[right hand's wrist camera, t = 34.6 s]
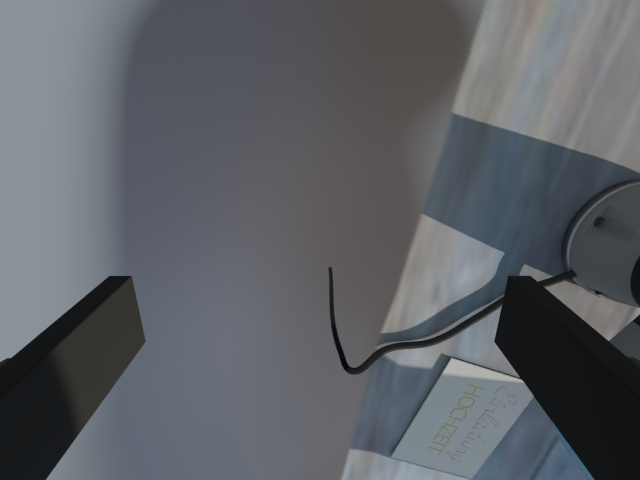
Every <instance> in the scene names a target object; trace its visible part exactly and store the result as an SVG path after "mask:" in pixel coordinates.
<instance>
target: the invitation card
mask: <svg viewBox="0 0 640 480" xmlns="http://www.w3.org/2000/svg"><path fill="white" fill-rule="evenodd" d="M533 397H534V396H533V394H532V393H531V391H530V390H529V389H528V387H527V386H526V385H525V383H524V382H523V380H522V379H519V378H516V377H513V376H509V375H506V374H503V373H500V372H497V371H493V370H490V369H487V368H484V367H480V366H477V365H474V364H471V363H468V362H464V361H461V360H458V359H455V358H452V357H451V359H450V360H449V362H448V363H447V365H446V367H445V368H444V370H443V372H442V373H441V375H440V377H439V378H438V380H437V381H436V383H435V385H434V386H433V388H432V390H431V391H430V393H429V395H428V396H427V398H426V399H425V401H424V403H423V404H422V406H421V408H420V409H419V411H418V413H417V414H416V416H415V417H414V419H413V421H412V422H411V424H410V426H409V427H408V429H407V431H406V432H405V434H404V435H403V437H402V439H401V440H400V442H399V444H398V445H397V447H396V449H395V450H394V452H393V453H392V455H391V457H392V458H396V459H400V460H403V461H407V462H411V463H415V464H418V465H422V466H426V467H430V468H433V469H437V470H441V471H445V472H448V473H452V474H456V475H460V476H463V477H467V478H471V479H472V478H473V477H474V476H475V474H476V473H477V472H478V470H479V469H480V468H481V466H482V465H483V464H484V462H485V461H486V460H487V458H488V457H489V456H490V454H491V453H492V452H493V450H494V449H495V448H496V446H497V445H498V444H499V442H500V441H501V440H502V438H503V437H504V436H505V434H506V433H507V432H508V430H509V429H510V428H511V426H512V425H513V424H514V422H515V421H516V420H517V418H518V417H519V416H520V414H521V413H522V412H523V410H524V409H525V408H526V406H527V405H528V404H529V402H530V401H531V400H532V398H533Z"/></svg>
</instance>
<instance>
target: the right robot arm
mask: <svg viewBox="0 0 640 480" xmlns="http://www.w3.org/2000/svg"><path fill="white" fill-rule="evenodd" d="M562 259H563V264H564V267H565V270H566V271H567V272H565V273H563V274H560V275H557V276H554V277H551V278H548V279H546V280H542V281H539V282H537V281H536V280H535V279H533V278H532V277H531V276H508V280H507V285H506V290H505V294H504V297H502V298H500V299H499V300H497V301H496V302H494V303H493V304H491V305H490V306H488V307H487V308H485V309H484V310H482V311H480V312H479V313H477V314H476V315H474V316H472V317H470V318H469V319H467V320H466V321H464V322H462V323H461V324H459V325H458V326H456V327H455V328H453V329H451V330H449V331H448V332H446V333H444V334H442V335H439V336H437V337H434V338H431V339H428V340H424V341H416V342H402V343H395V344H391V345H387V346H385V347H382V348H380V349H379V350H377V351H376V352H375V353H373V354H372V355H371V356H370V357H369V358H368V359H367V360H366V361H365V362H364V363H363V364H362V365H361V366H359V367H357V368H352V367H350V366H349V365H348V363H347V361H346V358H345V354H344V352H343V349H342V346H341V343H340V340H339V337H338V333H337V328H336V322H335V314H334V295H333V273H332V267H329V268H328V270H329V306H330V321H331V328H332V334H333V338H334V342H335V346H336V348H337V351H338V354H339V358H340V361H341V365H342V367H343V368H344V370H345V371H346V372H347V373H349V374H360V373H362V372H364V371H365V370H366V369H368V368H369V367H370V366H371V365H372V364H373V363H374V362H375V361H376V360H377V359H378V358H379V357H381V356H382V355H384V354H386V353H388V352H391V351H395V350H401V349H414V348H423V347H429V346H432V345H436V344H438V343H441V342H443V341H446V340H448V339H450V338H452V337H453V336H455V335H457V334H458V333H460V332H462V331H463V330H465V329H466V328H468V327H470V326H471V325H473V324H475V323H476V322H478V321H480V320H481V319H483V318H485V317H486V316H488V315H489V314H491V313H493V312H494V311H496V310H497V309H499V308H500V307H502V308H501V313H500V318H499V323H498V327H497V332H496V337H495V341H494V342H495V343H496V344H497V346H498V347H499V349H500V350H501V351H502V353H503V354H504V356H505V357H506V358H507V360H508V361H509V362H510V364H511V365H512V367H513V368H514V369H515V371H516V372H517V374H518V375H519V376H520V378H521V379H522V380H523V382H524V383H525V385H526V386H527V387H528V389H529V390H530V391H531V393H532V394H533V396H534V397H535V398H536V400H537V401H538V403H539V404H540V405H541V407H542V408H543V409H544V411H545V412H546V414H547V415H548V416H549V418H550V419H551V421H552V423H553V426H554V428H555V430H556V432H557V434H558V436H559V437H560V439H561V441H562V443H563V444H564V446H565V448H566V449H567V451H568V452H569V454H570V455H571V457H572V458H573V459H574V461H575V462H576V464H577V465H578V466H579V468H580V469H581V470H582V471H583V473H584V474H585V475H586V476H587V478H588V479H589V480H640V315H639V316H638V317H636V318H635V319H634V320H633V321H632V322H630V323H629V324H628V325H627V326H626V327H625V328H624V329H622V330H621V331H620V332H619V333H618V334H617V335H615V336H614V337H613V338H612V339H611V340H610V341H608V340H606V339H605V338H604V337H603V336H602V335H600V334H599V333H598V332H597V331H596V330H595V329H593V328H592V327H591V326H590V325H589V324H587V323H586V322H585V321H584V320H583V319H581V318H580V317H579V316H578V315H577V314H575V313H574V312H573V311H572V310H571V309H569V308H568V307H567V306H566V305H565V304H563V303H562V302H561V301H560V300H559V299H557V298H556V297H555V296H554V295H553V294H551V293H550V292H549V291H548V290H547V289H545V287H548V286H551V285H554V284H557V283H560V282H563V281H566V280H569V279H572V280H573V281H574V282H575V283H577V284H578V285H579V286H581V287H582V288H584V289H585V290H587V291H588V292H590V293H592V294H594V295H597V296H599V297H602V298H605V299H609V300H613V301H616V302H620V303H623V304H627V305H631V306H634V307H638V308H640V180H633V181H628V182H624V183H621V184H618V185H615V186H613V187H611V188H609V189H607V190H605V191H603V192H601V193H600V194H598V195H597V196H595V197H594V198H593V199H592V200H590V201H589V202H588V203H587V204H586V205H585V206H584V207H583V208H582V209H581V210H580V211H579V212H578V214H577V215H576V216H575V217H574V219H573V221H572V222H571V224H570V226H569V227H568V230H567V232H566V234H565V238H564V241H563V247H562ZM144 343H145V337H144V332H143V327H142V323H141V318H140V313H139V309H138V304H137V299H136V294H135V290H134V285H133V280H132V276H109V277H108V278H107V279H105V280H104V281H103V282H102V283H101V284H99V285H98V286H97V287H96V288H95V289H93V290H92V291H91V292H90V293H89V294H87V295H86V296H85V297H84V298H83V299H82V300H80V301H79V302H78V303H77V304H76V305H74V306H73V307H72V308H71V309H69V310H68V311H67V312H66V313H65V314H64V315H62V316H61V317H60V318H59V319H57V320H56V321H55V322H54V323H53V324H51V325H50V326H49V327H48V328H47V329H46V330H44V331H43V332H42V333H41V334H40V335H38V336H37V337H36V338H35V339H34V340H32V341H31V342H30V343H29V344H28V345H26V346H25V347H24V348H23V349H22V350H20V351H19V352H18V353H17V354H16V355H14V356H13V357H12V358H7V359H5V360H3V361H2V362H0V480H46V479H47V477H48V476H49V474H50V473H51V472H52V470H53V469H54V468H55V466H56V465H57V463H58V462H59V461H60V459H61V458H62V456H63V455H64V454H65V452H66V451H67V450H68V448H69V447H70V445H71V444H72V443H73V441H74V440H75V439H76V437H77V436H78V434H79V433H80V432H81V430H82V429H83V427H84V426H85V425H86V423H87V422H88V421H89V419H90V418H91V416H92V415H93V414H94V412H95V411H96V409H97V408H98V407H99V405H100V404H101V402H102V401H103V400H104V398H105V397H106V396H107V394H108V393H109V391H110V390H111V389H112V387H113V386H114V385H115V383H116V382H117V380H118V379H119V378H120V376H121V375H122V374H123V372H124V371H125V369H126V368H127V367H128V365H129V364H130V362H131V361H132V360H133V358H134V357H135V355H136V354H137V353H138V351H139V350H140V349H141V347H142V346H143V344H144Z"/></svg>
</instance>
